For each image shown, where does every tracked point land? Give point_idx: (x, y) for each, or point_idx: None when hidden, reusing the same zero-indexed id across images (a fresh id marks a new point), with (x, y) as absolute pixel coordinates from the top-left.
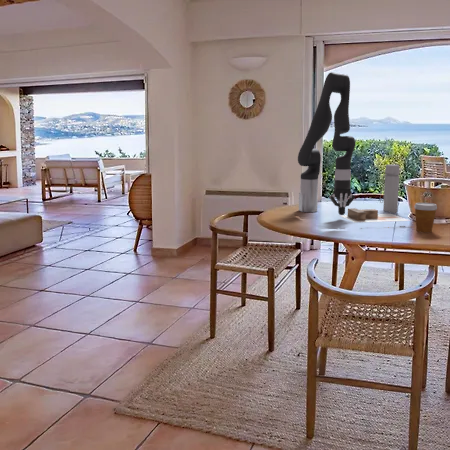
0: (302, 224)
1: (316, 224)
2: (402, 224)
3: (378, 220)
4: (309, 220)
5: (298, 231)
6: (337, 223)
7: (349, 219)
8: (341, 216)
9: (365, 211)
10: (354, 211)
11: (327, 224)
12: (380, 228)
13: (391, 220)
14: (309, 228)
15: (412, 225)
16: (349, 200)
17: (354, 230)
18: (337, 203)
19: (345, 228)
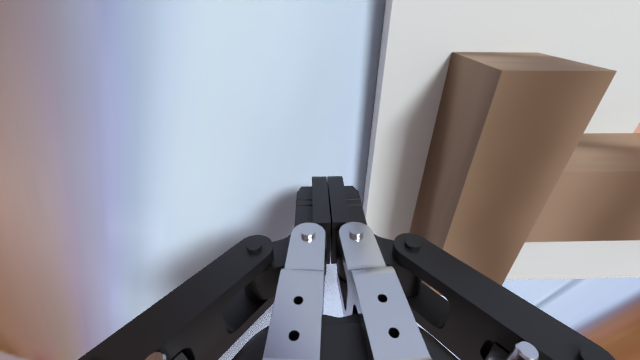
0: (3, 214)
1: (112, 226)
2: (616, 282)
3: (546, 250)
4: (31, 56)
5: (24, 347)
6: (269, 216)
7: (380, 195)
8: (392, 32)
9: (552, 236)
10: (442, 242)
11: (191, 235)
12: (431, 335)
13: (620, 259)
14: (73, 308)
15: (632, 304)
16: (442, 339)
17: None
18: (256, 313)
19: (269, 323)
